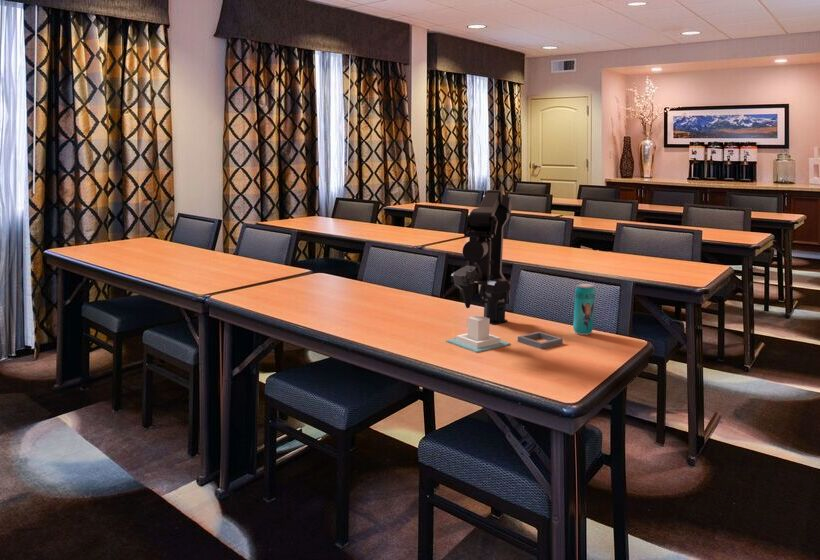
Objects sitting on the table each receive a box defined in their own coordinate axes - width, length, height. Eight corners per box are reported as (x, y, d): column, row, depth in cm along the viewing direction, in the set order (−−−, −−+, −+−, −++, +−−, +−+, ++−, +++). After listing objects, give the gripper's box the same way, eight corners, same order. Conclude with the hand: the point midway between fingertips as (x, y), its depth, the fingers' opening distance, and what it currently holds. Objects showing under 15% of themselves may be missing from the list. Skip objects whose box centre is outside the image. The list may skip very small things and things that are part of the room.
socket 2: (517, 341, 180) (517, 336, 180) (538, 336, 186) (538, 331, 185) (541, 349, 173) (541, 343, 173) (562, 343, 179) (562, 338, 178)
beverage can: (579, 336, 186) (582, 287, 183) (569, 331, 191) (572, 283, 188) (596, 335, 187) (599, 286, 184) (585, 330, 193) (588, 282, 190)
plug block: (467, 341, 179) (467, 317, 177) (479, 338, 182) (480, 315, 180) (477, 344, 175) (478, 320, 174) (490, 341, 178) (491, 318, 177)
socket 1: (445, 341, 180) (446, 335, 179) (479, 334, 187) (479, 328, 187) (476, 352, 169) (476, 346, 169) (510, 344, 177) (510, 338, 177)
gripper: (436, 254, 176) (435, 308, 179) (482, 263, 161) (480, 322, 164) (466, 251, 183) (464, 303, 186) (512, 260, 168) (510, 316, 171)
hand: (478, 311), depth 176 cm, fingers open, 9 cm apart
